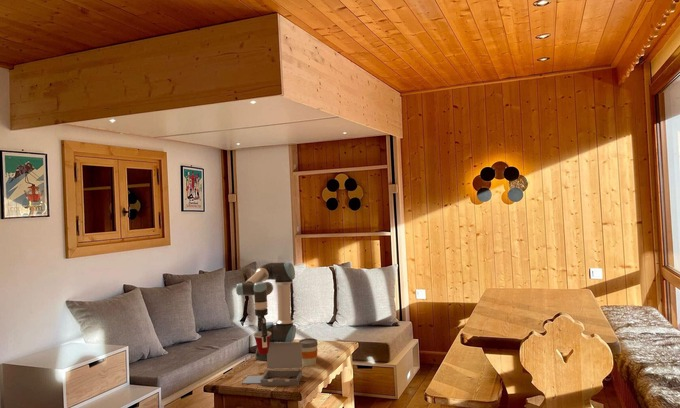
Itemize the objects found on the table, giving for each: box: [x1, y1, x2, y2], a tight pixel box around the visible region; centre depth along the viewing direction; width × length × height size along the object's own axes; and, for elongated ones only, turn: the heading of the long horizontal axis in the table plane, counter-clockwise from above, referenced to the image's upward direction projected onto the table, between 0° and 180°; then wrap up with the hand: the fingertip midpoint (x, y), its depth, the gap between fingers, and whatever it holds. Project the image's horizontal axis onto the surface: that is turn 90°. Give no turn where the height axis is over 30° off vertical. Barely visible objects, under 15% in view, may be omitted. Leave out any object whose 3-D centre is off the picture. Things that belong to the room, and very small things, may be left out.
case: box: [260, 369, 303, 387], centre depth 321 cm, size 17×22×4 cm
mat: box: [241, 375, 264, 385], centre depth 324 cm, size 12×11×1 cm
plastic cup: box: [253, 331, 271, 354], centre depth 323 cm, size 11×11×12 cm
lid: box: [266, 341, 303, 371], centre depth 330 cm, size 16×22×2 cm
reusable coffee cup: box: [298, 338, 319, 367], centre depth 351 cm, size 13×13×15 cm
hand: (262, 344), depth 323 cm, fingers closed on plastic cup, 11 cm apart
